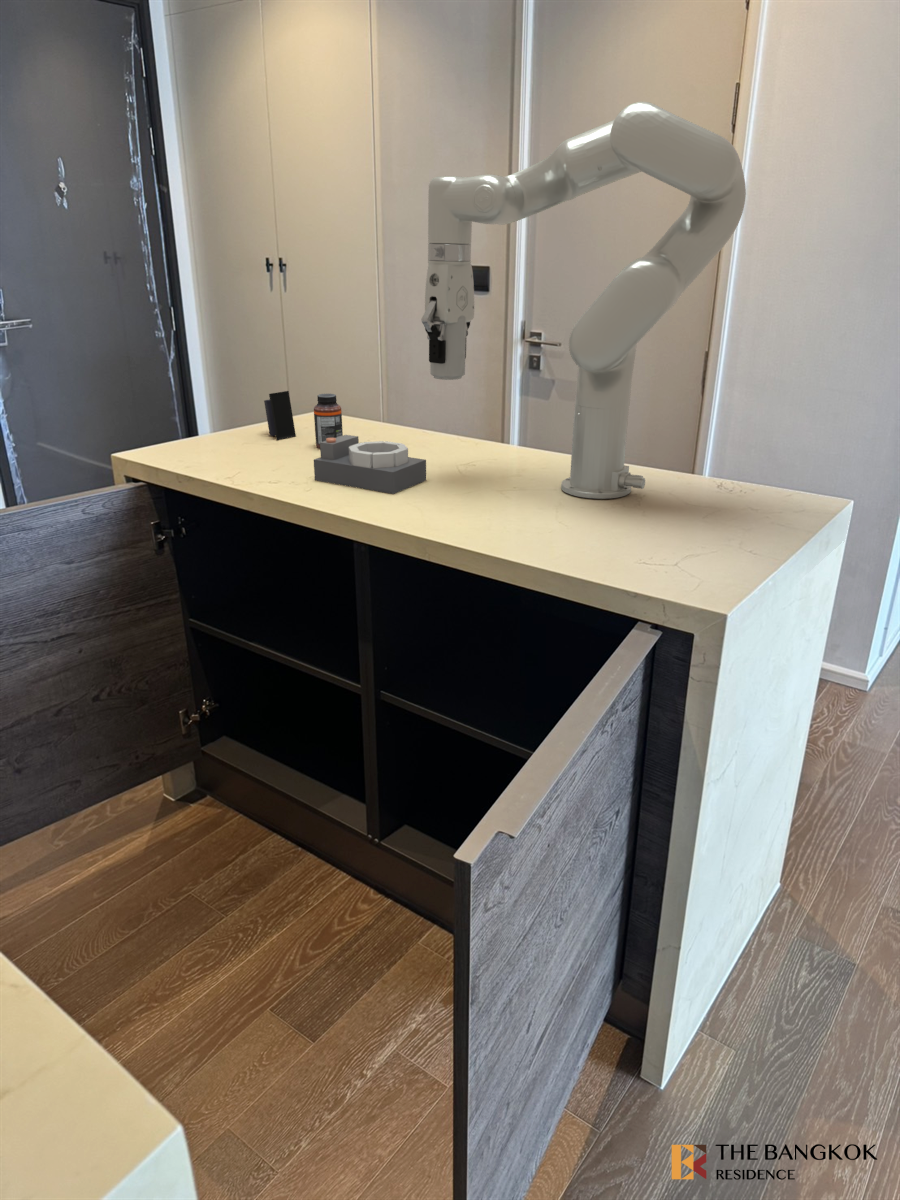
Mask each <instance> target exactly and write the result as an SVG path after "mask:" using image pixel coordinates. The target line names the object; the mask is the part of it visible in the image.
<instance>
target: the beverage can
mask: <svg viewBox="0 0 900 1200" xmlns="http://www.w3.org/2000/svg"><path fill="white" fill-rule="evenodd" d="M435 321H441V320H440V318H435ZM436 327H437V329H438V331H439V329H440V326H436ZM443 340H446V357H445V363H444V364H439V363H431V362H429V363H430V364H429V365H430V366H429V368H430V369H429V370H430V371H429V372H430V375H431V376H432V377H433V378H434V379H436V380H444V381H445V380H446V381H449V380H450V381H451V380H453V381H454V380H460V379H462V378H463V376H464V375H466V359H465V348H466V349H467V337H466V317H465V316H463V315H462V316H460V317H459V318H458V322H457V323H455V324H446V330H445V334H444V339H443Z"/></svg>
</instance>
